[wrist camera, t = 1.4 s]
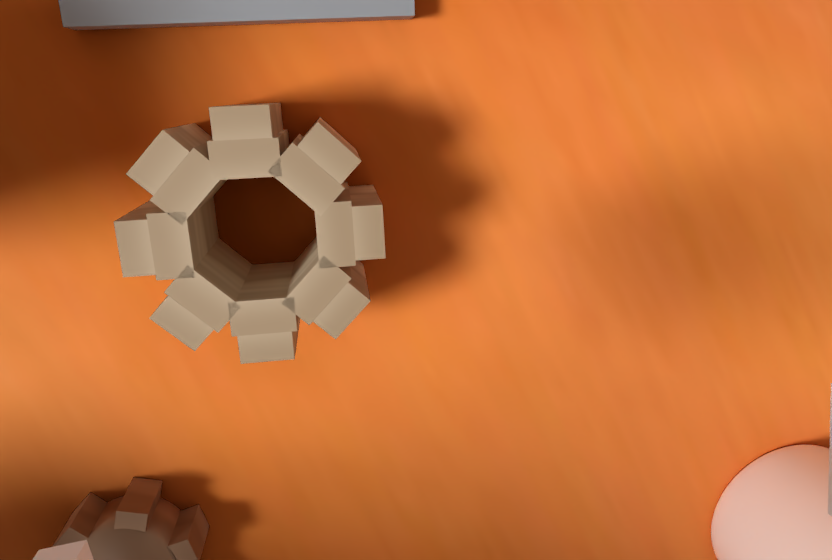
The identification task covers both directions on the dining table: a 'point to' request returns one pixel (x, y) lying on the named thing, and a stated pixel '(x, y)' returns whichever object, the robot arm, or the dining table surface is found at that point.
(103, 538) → the gear
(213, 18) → the gear board
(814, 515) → the candle holder
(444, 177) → the dining table surface
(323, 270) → the maple gear
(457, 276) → the dining table surface
